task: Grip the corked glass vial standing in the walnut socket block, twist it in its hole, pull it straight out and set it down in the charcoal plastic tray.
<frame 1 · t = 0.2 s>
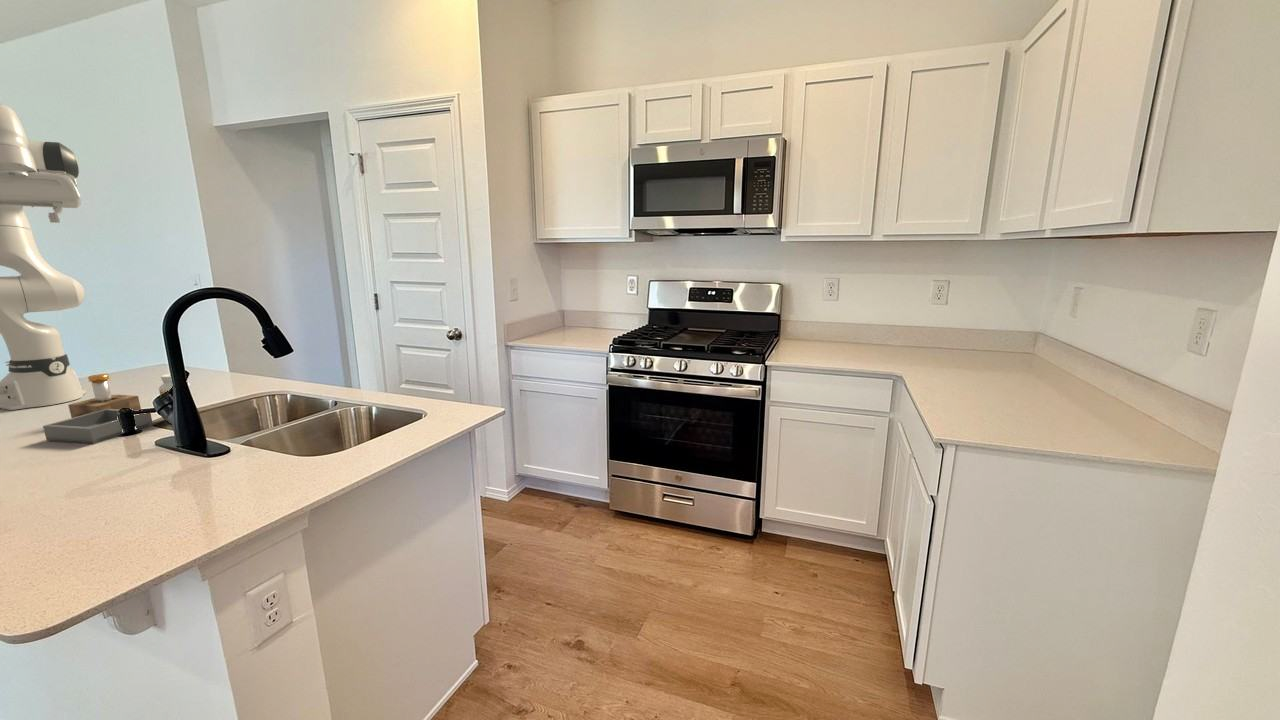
hand: (24, 220, 118), 54 cm above the worktop, tool tilted 30°, fingers open, 8 cm apart
corked glass vial: (103, 396, 147), in the socket block
supplement bottle: (181, 418, 147), on the worktop
tray: (102, 432, 136), on the worktop
socket block: (108, 416, 148), on the worktop
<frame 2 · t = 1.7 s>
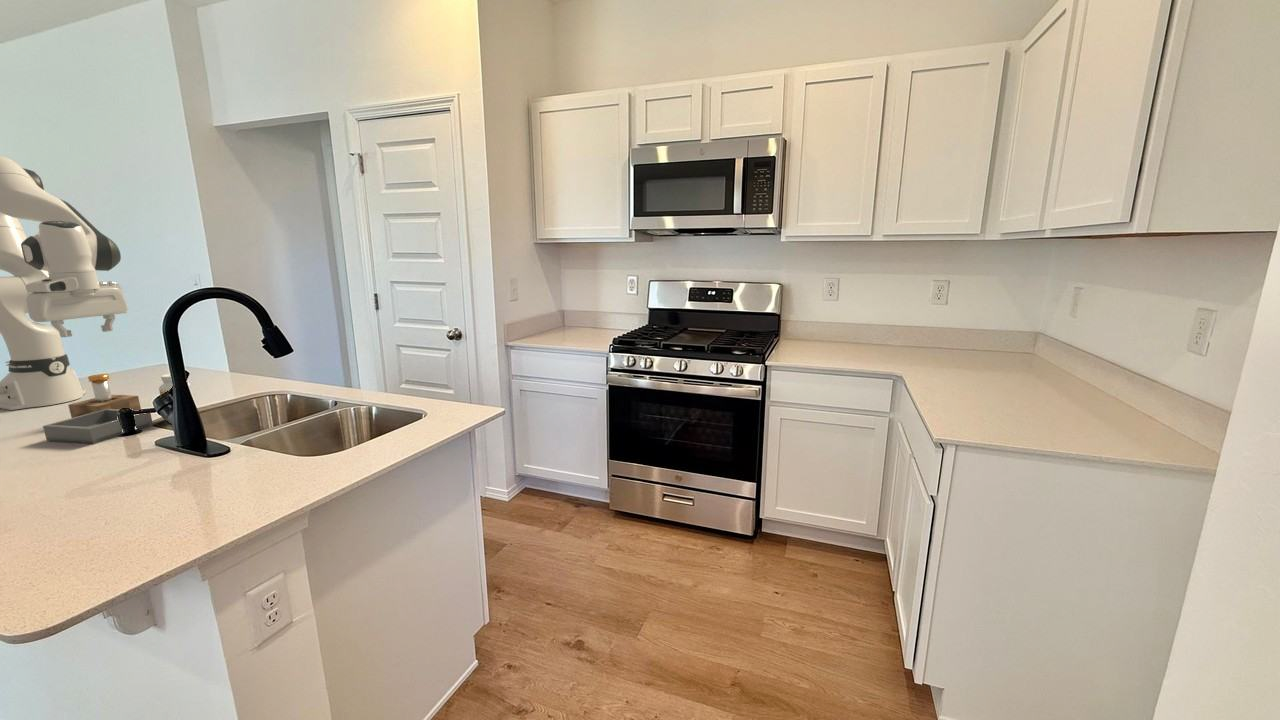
hand: (87, 334, 142), 24 cm above the worktop, tool pointing down, fingers open, 8 cm apart
nothing on the worktop moved.
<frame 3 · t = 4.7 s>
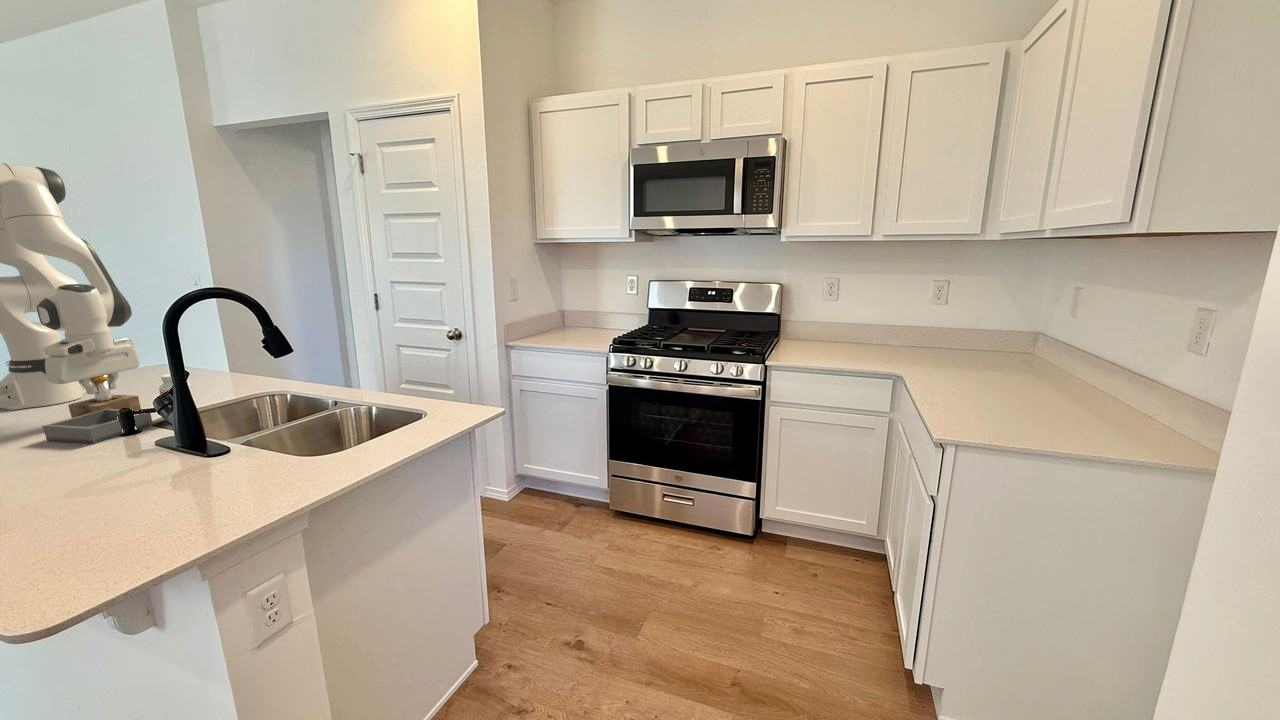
hand: (101, 391, 147), 8 cm above the worktop, tool pointing down, fingers closed on corked glass vial, 3 cm apart
corked glass vial: (103, 396, 147), in the socket block, touching gripper
everything else where it was.
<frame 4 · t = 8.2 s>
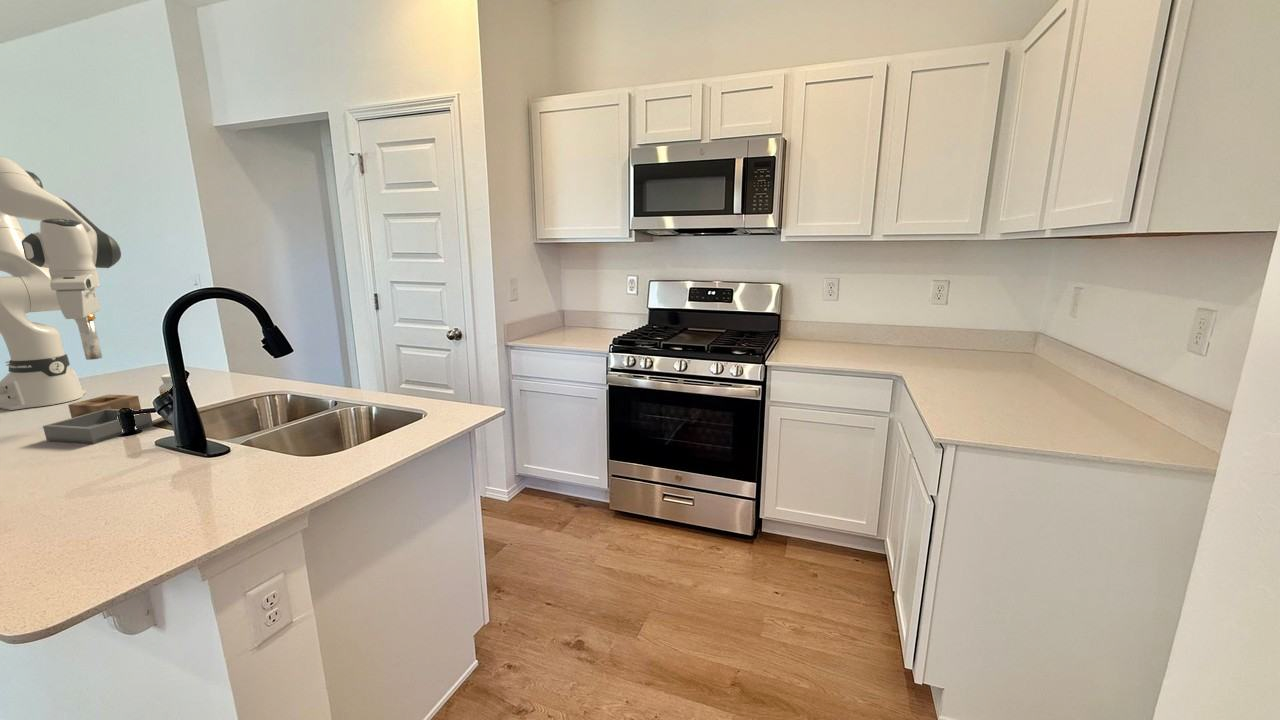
hand: (87, 331, 143), 25 cm above the worktop, tool pointing down, fingers closed on corked glass vial, 3 cm apart
corked glass vial: (89, 336, 143), point 23 cm above the worktop, touching gripper
everything else where it was.
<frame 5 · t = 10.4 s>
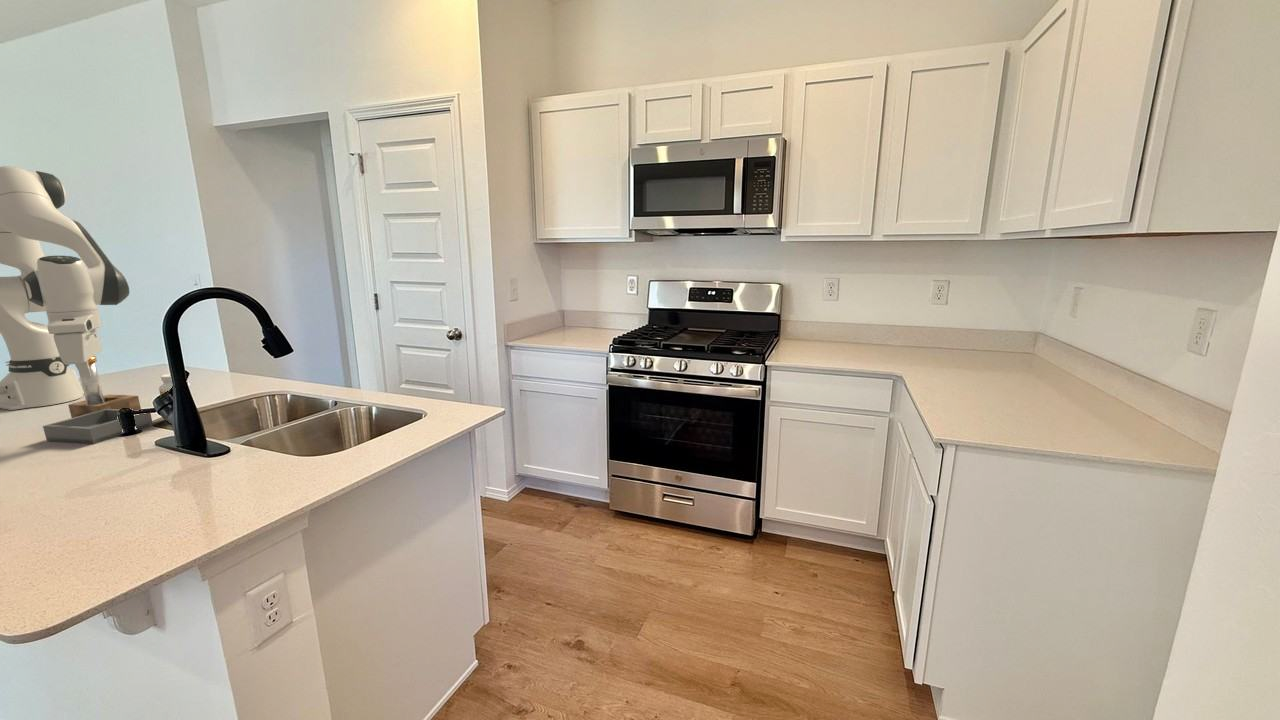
hand: (88, 375, 132), 16 cm above the worktop, tool pointing down, fingers closed on corked glass vial, 3 cm apart
corked glass vial: (90, 380, 133), point 14 cm above the worktop, touching gripper
everything else where it was.
when the fingers open (10 cm above the worktop, at t = 12.2 s): corked glass vial drops 1 cm, resting on tray.
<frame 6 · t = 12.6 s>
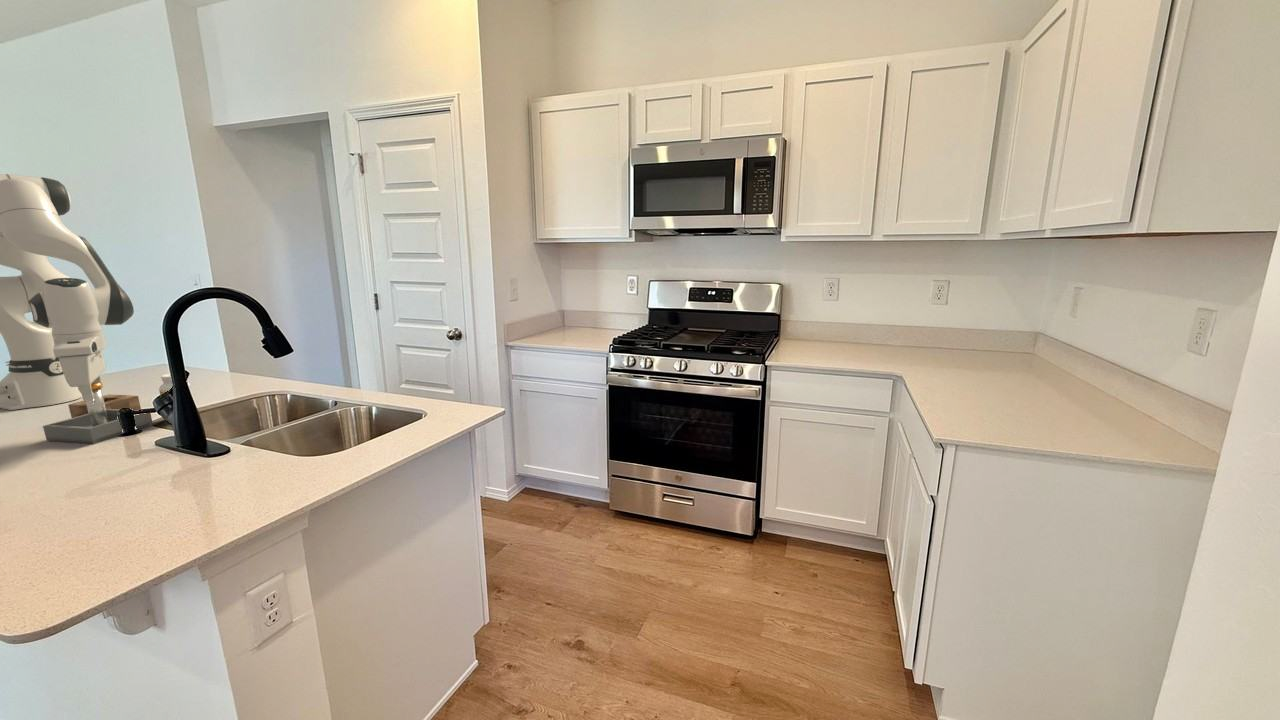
hand: (93, 395, 134), 10 cm above the worktop, tool pointing down, fingers open, 8 cm apart
corked glass vial: (96, 406, 134), in the tray, point 7 cm above the worktop
everything else where it was.
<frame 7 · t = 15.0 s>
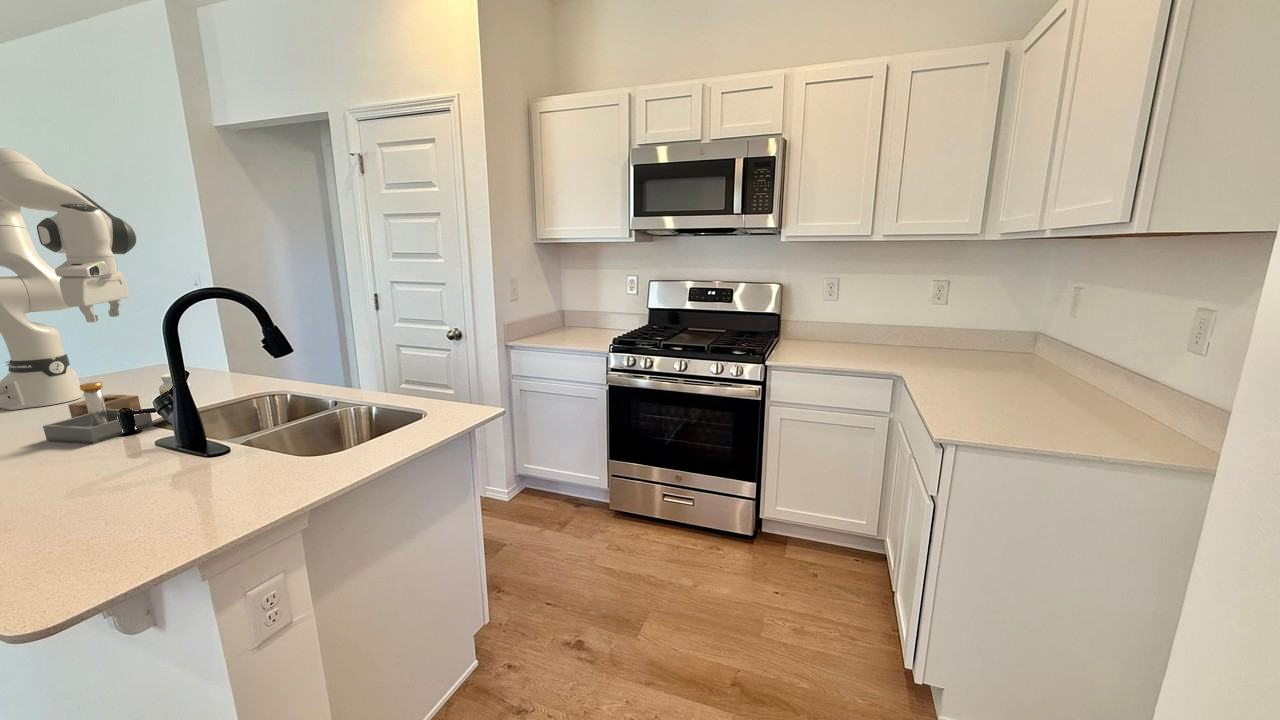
hand: (104, 319, 140), 29 cm above the worktop, tool pointing down, fingers open, 8 cm apart
nothing on the worktop moved.
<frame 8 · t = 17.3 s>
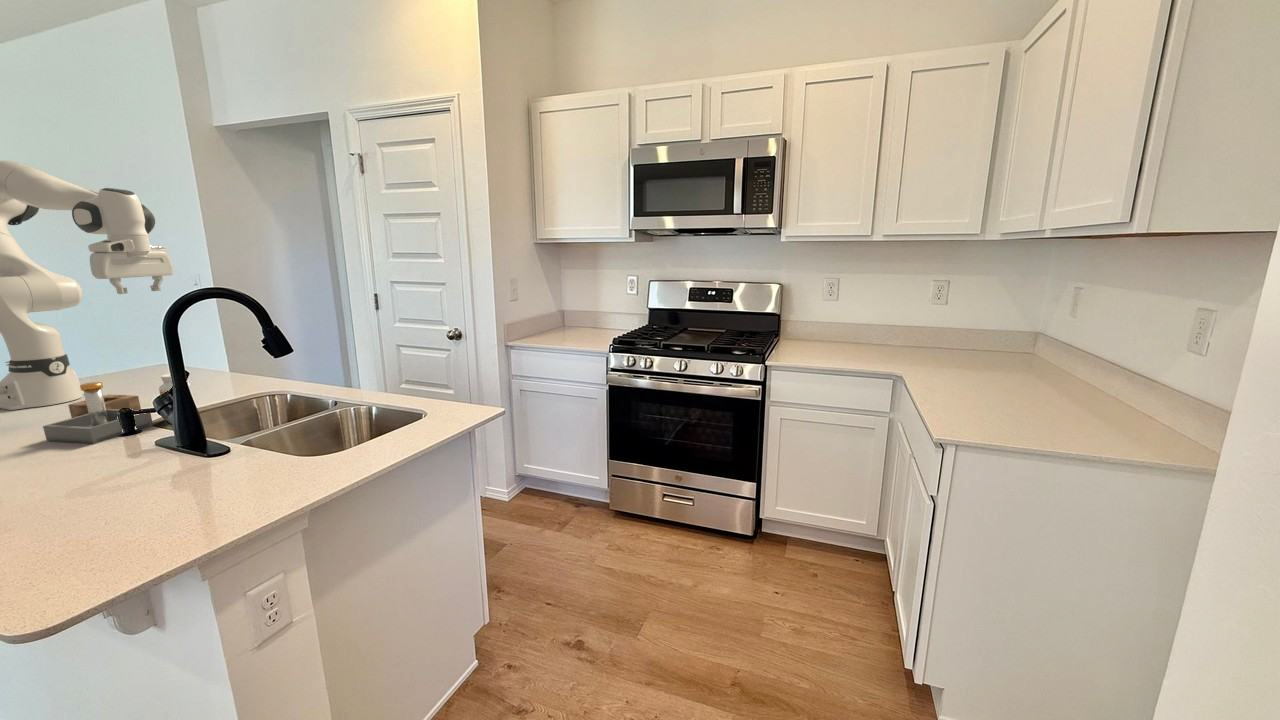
hand: (139, 292, 156), 34 cm above the worktop, tool pointing down, fingers open, 8 cm apart
nothing on the worktop moved.
at the end: corked glass vial inside the target area on the tray (0.1 cm from its centre), point 7.1 cm above the tray's base; the gripper is holding nothing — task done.
